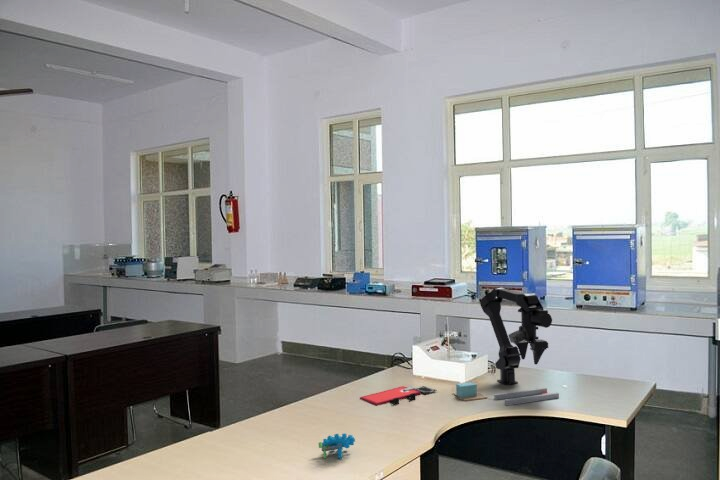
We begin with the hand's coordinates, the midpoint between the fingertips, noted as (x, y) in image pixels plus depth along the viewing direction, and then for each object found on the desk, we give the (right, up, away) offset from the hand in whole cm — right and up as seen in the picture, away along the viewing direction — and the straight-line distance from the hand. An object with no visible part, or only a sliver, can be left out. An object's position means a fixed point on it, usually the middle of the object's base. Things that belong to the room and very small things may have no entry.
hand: (529, 361), depth 225 cm
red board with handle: (-53, -14, -3) cm, 55 cm away
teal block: (-27, -12, -6) cm, 30 cm away
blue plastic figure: (-77, -15, -60) cm, 98 cm away
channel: (-4, -12, -10) cm, 16 cm away
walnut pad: (-26, -13, -6) cm, 29 cm away
